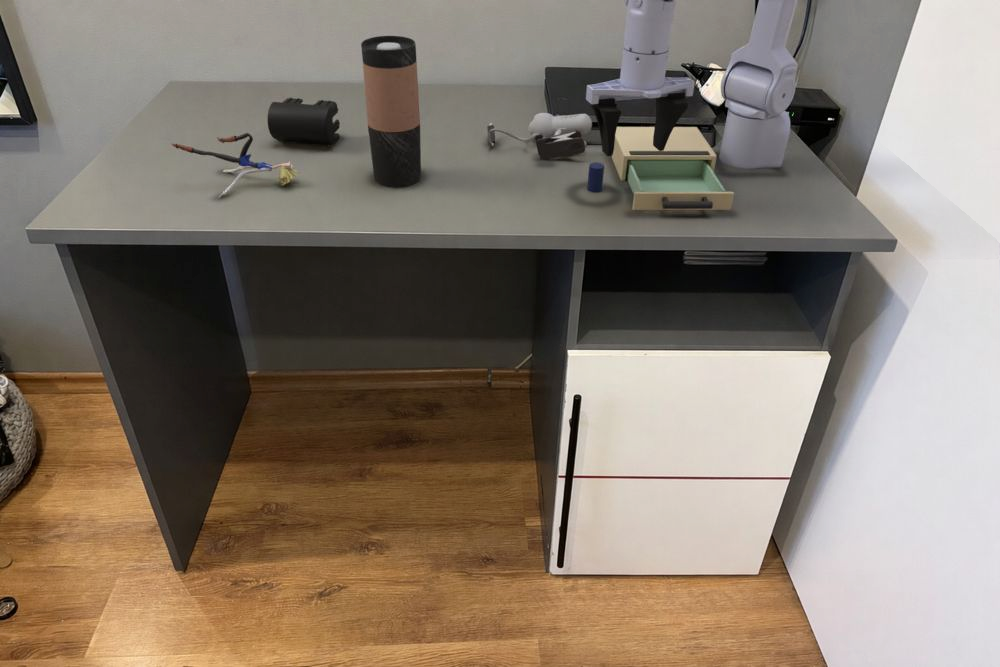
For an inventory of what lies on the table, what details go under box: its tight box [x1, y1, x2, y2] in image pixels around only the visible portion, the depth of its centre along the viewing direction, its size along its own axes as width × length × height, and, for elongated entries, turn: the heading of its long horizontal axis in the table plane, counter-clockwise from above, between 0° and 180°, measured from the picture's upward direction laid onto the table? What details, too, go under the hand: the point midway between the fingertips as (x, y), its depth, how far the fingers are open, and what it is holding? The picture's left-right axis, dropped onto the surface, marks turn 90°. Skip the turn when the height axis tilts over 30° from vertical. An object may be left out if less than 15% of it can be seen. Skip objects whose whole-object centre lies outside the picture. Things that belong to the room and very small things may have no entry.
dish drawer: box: [610, 126, 718, 182], centre depth 118 cm, size 14×12×5 cm
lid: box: [586, 162, 605, 193], centre depth 111 cm, size 7×7×5 cm
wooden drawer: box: [625, 160, 735, 211], centre depth 109 cm, size 14×14×3 cm
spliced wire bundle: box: [170, 132, 299, 199], centre depth 110 cm, size 10×9×20 cm
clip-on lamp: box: [486, 112, 593, 161], centre depth 124 cm, size 12×6×18 cm
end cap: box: [267, 97, 341, 147], centre depth 124 cm, size 10×7×7 cm
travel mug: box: [360, 35, 422, 188], centre depth 110 cm, size 8×8×20 cm
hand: (633, 150), depth 103 cm, fingers open, 7 cm apart
